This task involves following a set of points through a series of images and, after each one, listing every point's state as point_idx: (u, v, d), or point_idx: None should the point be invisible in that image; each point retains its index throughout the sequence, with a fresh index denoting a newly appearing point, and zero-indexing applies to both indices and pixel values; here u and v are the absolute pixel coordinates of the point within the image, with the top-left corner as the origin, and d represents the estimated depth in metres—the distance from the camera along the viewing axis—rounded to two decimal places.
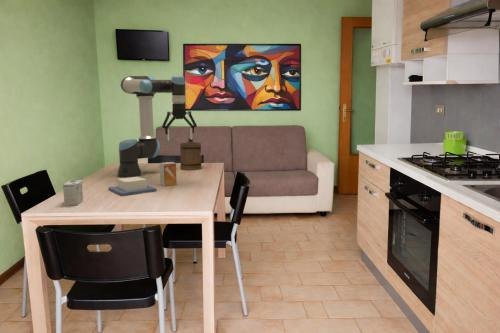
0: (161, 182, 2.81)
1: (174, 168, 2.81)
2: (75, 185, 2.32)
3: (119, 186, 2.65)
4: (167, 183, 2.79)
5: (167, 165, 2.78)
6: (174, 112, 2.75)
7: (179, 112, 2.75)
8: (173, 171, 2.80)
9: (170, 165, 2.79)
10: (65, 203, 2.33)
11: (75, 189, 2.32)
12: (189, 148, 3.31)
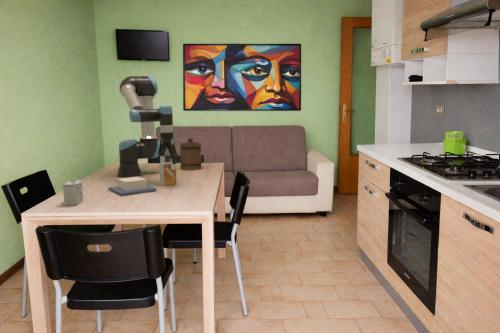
0: (161, 182, 2.81)
1: None
2: (75, 185, 2.32)
3: (119, 186, 2.65)
4: (167, 183, 2.79)
5: (167, 165, 2.78)
6: (163, 141, 2.81)
7: (165, 141, 2.78)
8: (173, 171, 2.80)
9: (170, 165, 2.79)
10: (65, 203, 2.33)
11: (75, 189, 2.32)
12: (189, 148, 3.31)
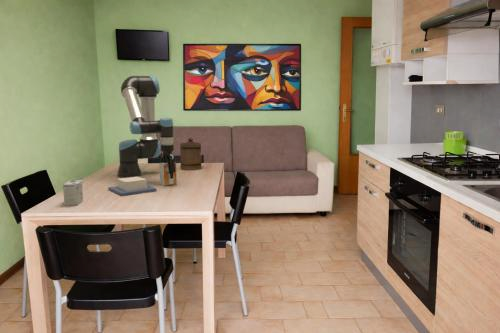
0: (161, 182, 2.81)
1: None
2: (75, 185, 2.32)
3: (119, 186, 2.65)
4: (167, 183, 2.79)
5: (167, 165, 2.78)
6: (163, 153, 2.82)
7: (165, 153, 2.79)
8: None
9: None
10: (65, 203, 2.33)
11: (75, 189, 2.32)
12: (189, 148, 3.31)
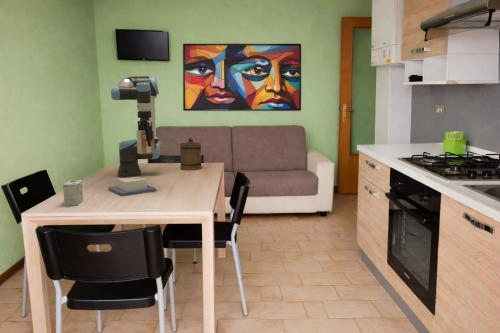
0: (138, 150, 2.68)
1: None
2: (75, 185, 2.32)
3: (119, 186, 2.65)
4: (144, 151, 2.66)
5: (144, 132, 2.65)
6: (140, 120, 2.69)
7: (142, 120, 2.66)
8: None
9: None
10: (65, 203, 2.33)
11: (75, 189, 2.32)
12: (189, 148, 3.31)
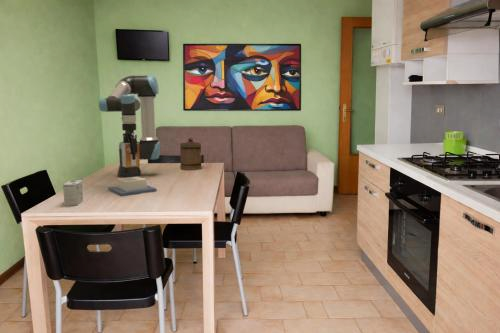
0: (123, 164, 2.63)
1: (137, 148, 2.62)
2: (75, 185, 2.32)
3: (119, 186, 2.65)
4: (129, 165, 2.60)
5: (129, 145, 2.59)
6: (125, 132, 2.63)
7: (127, 133, 2.61)
8: None
9: None
10: (65, 203, 2.33)
11: (75, 189, 2.32)
12: (189, 148, 3.31)
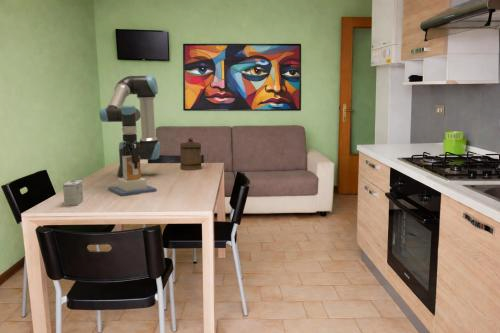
0: (124, 176, 2.64)
1: None
2: (75, 185, 2.32)
3: (119, 186, 2.65)
4: (130, 178, 2.62)
5: (130, 158, 2.60)
6: (126, 142, 2.64)
7: (128, 143, 2.62)
8: None
9: None
10: (65, 203, 2.33)
11: (75, 189, 2.32)
12: (189, 148, 3.31)
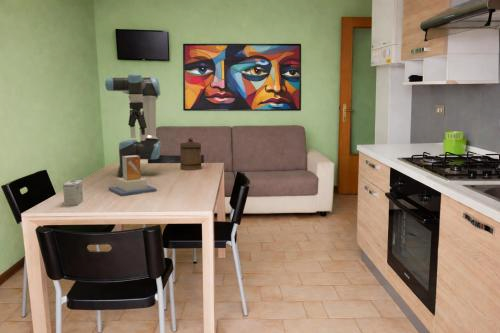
0: (124, 177, 2.64)
1: (138, 161, 2.63)
2: (75, 185, 2.32)
3: (119, 186, 2.65)
4: (130, 178, 2.62)
5: (130, 158, 2.60)
6: (132, 111, 2.71)
7: (134, 111, 2.68)
8: (136, 164, 2.63)
9: (133, 158, 2.61)
10: (65, 203, 2.33)
11: (75, 189, 2.32)
12: (189, 148, 3.31)
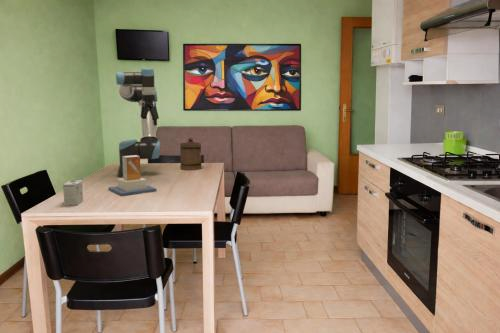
0: (124, 177, 2.64)
1: (138, 161, 2.63)
2: (75, 185, 2.32)
3: (119, 186, 2.65)
4: (130, 178, 2.62)
5: (130, 158, 2.60)
6: (145, 103, 2.86)
7: (147, 103, 2.84)
8: (136, 164, 2.63)
9: (133, 158, 2.61)
10: (65, 203, 2.33)
11: (75, 189, 2.32)
12: (189, 148, 3.31)
